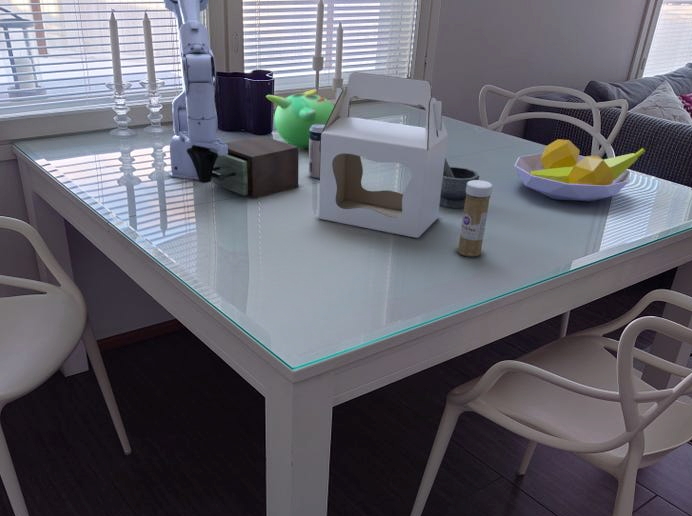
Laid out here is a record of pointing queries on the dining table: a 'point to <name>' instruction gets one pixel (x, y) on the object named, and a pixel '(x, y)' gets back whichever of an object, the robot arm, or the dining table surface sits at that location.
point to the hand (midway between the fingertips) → (205, 181)
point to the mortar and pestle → (455, 185)
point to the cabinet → (268, 164)
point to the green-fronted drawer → (232, 173)
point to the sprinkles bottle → (474, 217)
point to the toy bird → (300, 116)
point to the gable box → (382, 158)
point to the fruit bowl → (574, 172)
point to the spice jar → (315, 149)
